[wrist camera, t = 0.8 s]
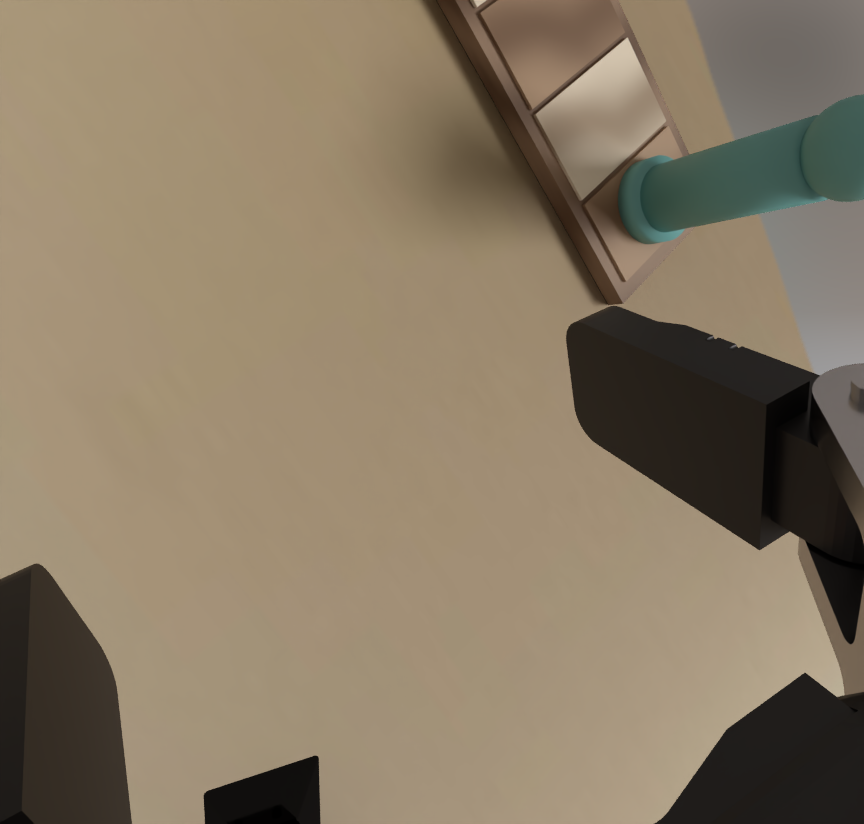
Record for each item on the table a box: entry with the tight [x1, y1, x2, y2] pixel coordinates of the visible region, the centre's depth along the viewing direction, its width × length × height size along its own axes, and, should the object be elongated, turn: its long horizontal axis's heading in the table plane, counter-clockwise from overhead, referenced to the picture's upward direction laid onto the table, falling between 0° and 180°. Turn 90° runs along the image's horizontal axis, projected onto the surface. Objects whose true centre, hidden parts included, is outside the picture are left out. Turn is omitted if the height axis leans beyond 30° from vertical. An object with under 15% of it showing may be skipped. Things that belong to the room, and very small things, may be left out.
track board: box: [437, 0, 695, 305], centre depth 38 cm, size 24×10×1 cm, turn 39°
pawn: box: [618, 95, 864, 244], centre depth 34 cm, size 5×5×14 cm
